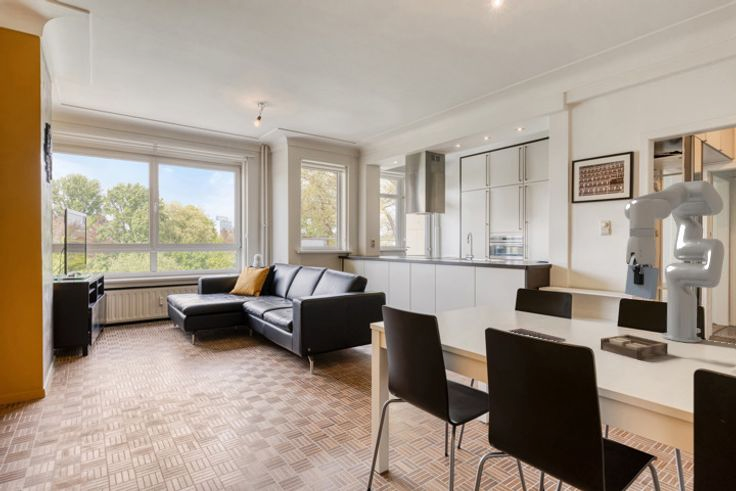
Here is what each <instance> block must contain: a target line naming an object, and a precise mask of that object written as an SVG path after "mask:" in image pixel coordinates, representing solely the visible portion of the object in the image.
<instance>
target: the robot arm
mask: <svg viewBox="0 0 736 491" xmlns="http://www.w3.org/2000/svg"><path fill="white" fill-rule="evenodd" d="M723 208H724V201H723V199H722V196H721V195H720V193H719V192H718V191H717V189H716V188H715V187H714V185H712V183H711V182H709V181H708V180H702V179H701V180H693V181H692V180H691V181H681V182H676V183H673V184H671V185H669V186H668V187H665V188H664V189H663V190H659V191H655V192H651V193H648V194H645V195H641V196H638V197H635V198H633V199H631V200H630V201H629V202H627V204H626V205H625V207H624V216H625V217H626V218H627V219H628V220H629V237H628V239H627V246H626V258H625V259H626V260H625V261H626V264H627V265H629V267H630V268H631V269H632V270H633V273H634V284H636V285H644V274H642V272H643V266H647V267H653V268H654V266H656V260H657V252H656V240H655V237H656V233H655V232H656V229H655V228H656V223H655V222H656V221H658V220H659V221H660V220H666V219H667V218H669V217H670V215H671V216H672V218H673V220H674V222H675V225H676V234H675V235H676V236H675V241H674V245H673V246H674V247H673V256H674V258H675V259H676V260H678V261H683V262H672V263H669V264H668V265H666V266H665V269H664V277H665V281H666V282H665V283H666V290H667V293H666V294H667V296H666V297H667V299H666V300H667V301H666V302H667V303H666V306H667V310H666V311H667V312H666V313H667V314H666V332H663V333H662V338H664V339H666V340H670V341H675V342H681V343H692V344H693V343H696V344H697V343H701V342H702V338H701V337H700V336H698V335H697V334H699V333H701V331H702V330H701V329H700V328H699V327H698V328H697V325H698V324H697V321H698V320H697V319H698V318H697V317H698V314H697V313H698V310H697V309H698V298H697V295H696V293H695V292H694V291H693V290H692V288H694V287H695V288H705V289H712V288H716V287H718V285H720V282H721V279H722V278H721V277H722V271H723V264H724V259H725V258H724V257H725V247H724V244H723V242H722V241H721V240H719V239H717V238H703V234H704V228H703V226H702V225H701V223H700V222H699V221H697V219H696V218H694V217H703V216H704V217H705V216H706V217H710V216H716V215H719V214H720V213H721V212H722V211H723ZM695 262H696V263H695ZM697 262H698V263H697ZM700 262H703V263H700ZM636 266H637V267H636ZM638 267H639V268H638ZM691 287H692V288H691Z"/></svg>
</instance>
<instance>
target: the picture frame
mask: <svg viewBox="0 0 736 491" xmlns="http://www.w3.org/2000/svg"><path fill="white" fill-rule="evenodd" d="M508 331H510V332H514V333H518V334H523V335H529V336H533V337H538V338H542V339H547V340H553V341H559V342H558V343H561V342H565V341H566V338H563V337H558V336H554V335H550V334H547V333H546V334H545V333H542V332H538V331H534V330H529V329H525V328H522V327H521V328H517V329H510V330H509V329H508Z"/></svg>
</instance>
